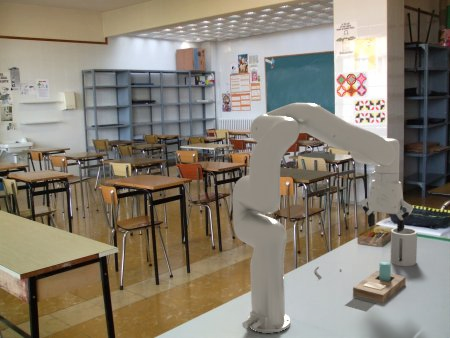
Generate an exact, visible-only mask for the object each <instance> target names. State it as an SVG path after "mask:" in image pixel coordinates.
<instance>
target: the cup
mask: <svg viewBox="0 0 450 338" xmlns="http://www.w3.org/2000/svg"><path fill="white" fill-rule="evenodd" d="M417 244H418V231H417V230H416V229H414V228H409V227H404V229H403V230H402V231H401V232H398V231H397V227H394V228H391V230H390V263H392V264H393V265H396V266H400V267H411V266H412V267H413V266H414V265H416V264H417V252H418V251H417V250H418V249H417V248H418V245H417ZM400 259H401V260H400Z"/></svg>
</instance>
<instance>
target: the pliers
mask: <svg viewBox="0 0 450 338" xmlns="http://www.w3.org/2000/svg"><path fill="white" fill-rule="evenodd" d="M318 269H319V266H316V268H315V269H314V274H315V276H316V277H317V278H318V281H320V280H321V279H322V278H323V277H322V276H321V275H320V274H319V273H318V272H317V270H318ZM339 273H342V269H341V268H339Z"/></svg>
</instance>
